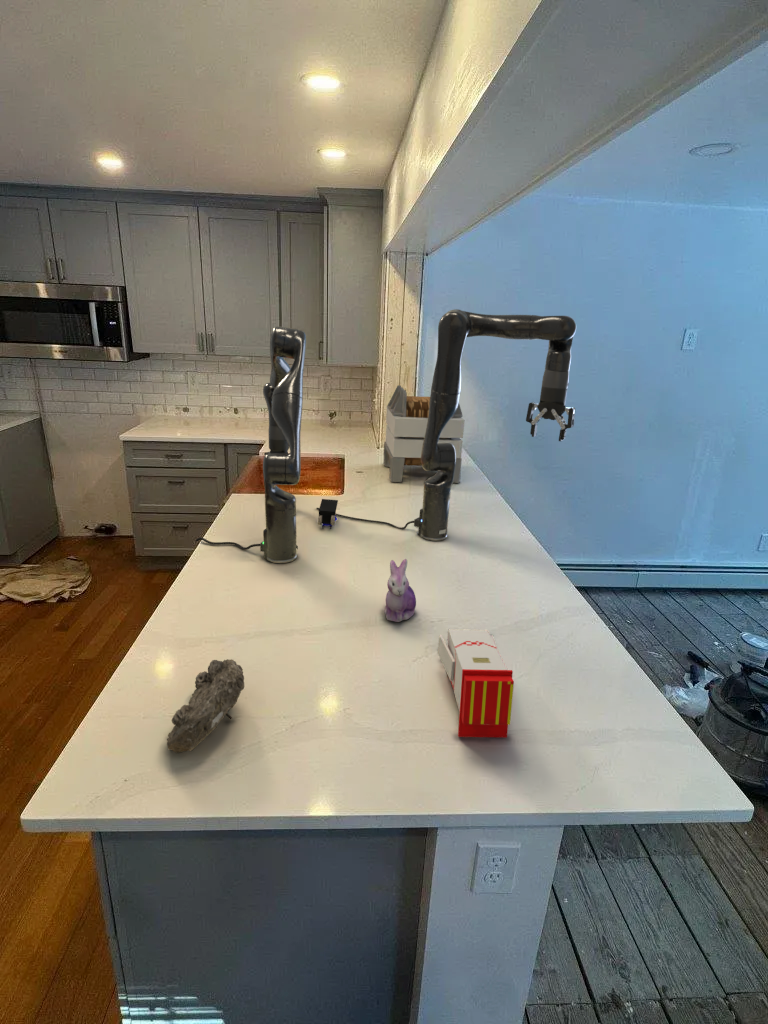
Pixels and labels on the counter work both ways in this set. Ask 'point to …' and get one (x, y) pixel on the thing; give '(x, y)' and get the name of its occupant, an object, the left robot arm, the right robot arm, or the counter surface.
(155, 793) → the counter surface
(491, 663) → the toy
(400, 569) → the figurine
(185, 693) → the counter surface
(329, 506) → the figurine character
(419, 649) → the counter surface
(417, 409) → the grey slatted planter box
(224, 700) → the fossil
